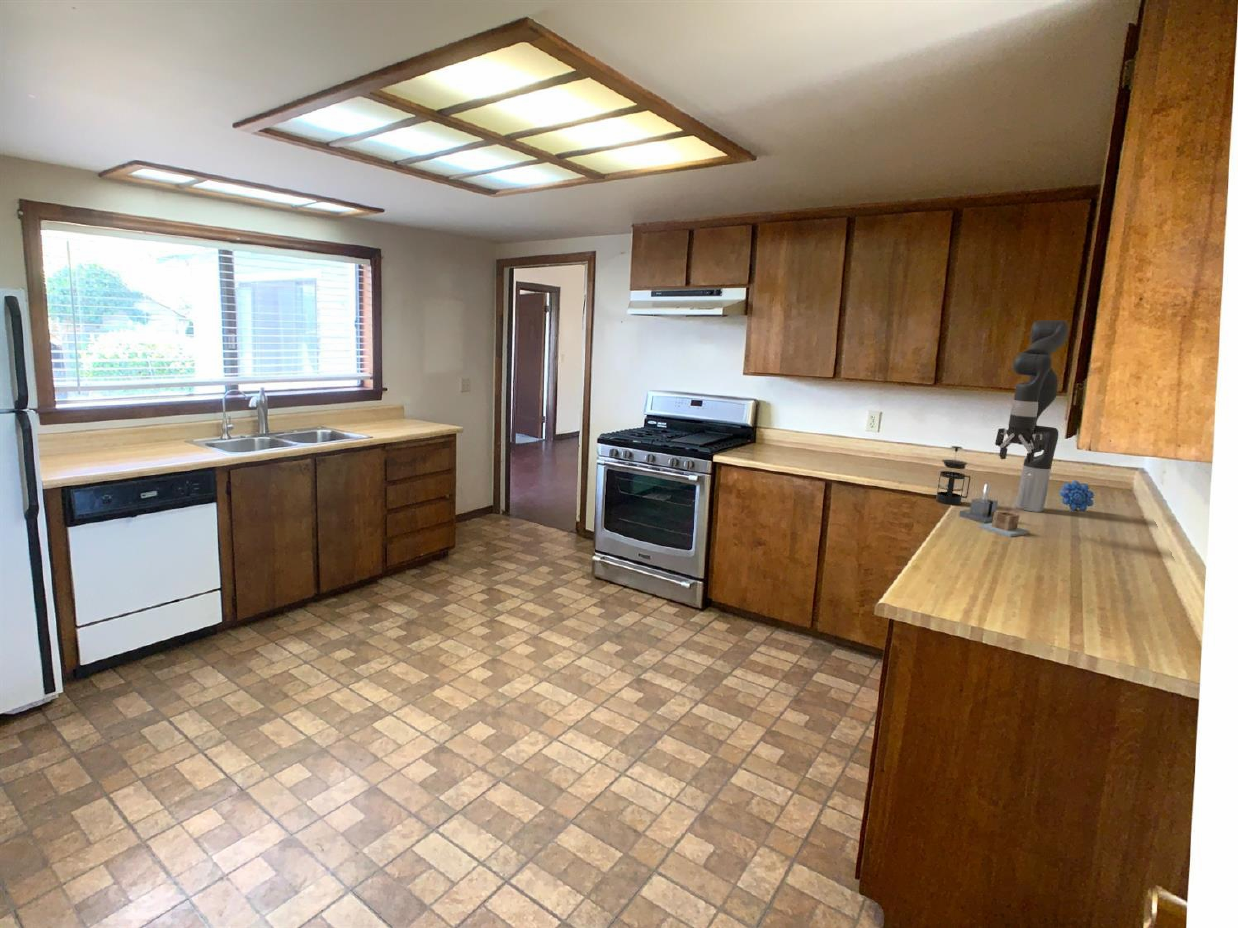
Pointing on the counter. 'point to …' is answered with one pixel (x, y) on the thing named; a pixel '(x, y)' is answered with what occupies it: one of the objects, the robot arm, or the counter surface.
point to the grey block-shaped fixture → (981, 508)
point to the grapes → (1077, 495)
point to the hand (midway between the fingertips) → (1015, 461)
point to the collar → (1005, 520)
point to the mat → (1004, 532)
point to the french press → (952, 482)
